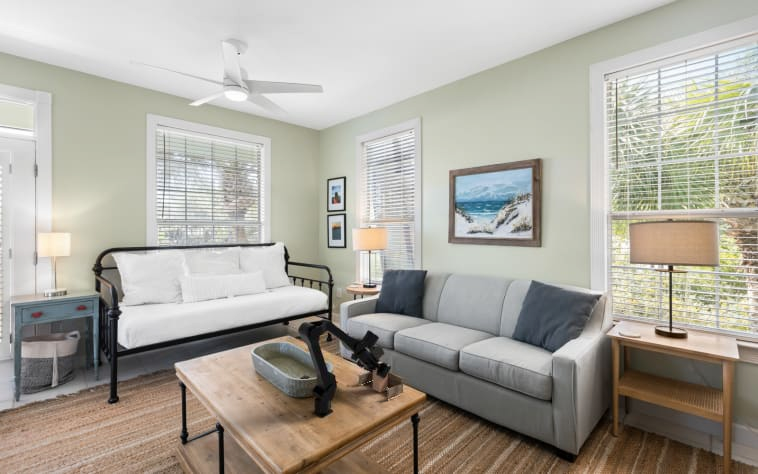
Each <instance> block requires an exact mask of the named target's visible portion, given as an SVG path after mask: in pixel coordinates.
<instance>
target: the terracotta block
mask: <svg viewBox="0 0 758 474" xmlns="http://www.w3.org/2000/svg"><path fill="white" fill-rule="evenodd" d="M377 363H379V364H380V363H383V362H382V361H379V362H377ZM376 374H377V368H376V370H373V382H372V390H373V389H374V391H375V390H376V391H375V392H377V391H378V392H377V393H379V392H380V393H382V392H381V391H383V392H385V391H384V390H386V389H387V385H388V374H387V377H386V378H382V377H379V376H377V375H376ZM386 391H387V390H386Z"/></svg>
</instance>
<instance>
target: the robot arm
mask: <svg viewBox="0 0 758 474" xmlns="http://www.w3.org/2000/svg"><path fill="white" fill-rule="evenodd" d="M297 332H298V334H299V336H300V338H301V340H302V341H303V342H304V344H305V345H306V346H307V349H308V352H309V355H310V357H311V361H312V363H313V366H314V370H315V373H316V378H315V383H316V384H315V386H314V387H313V388H312V390H311V395H312V396H313V397H315V398H314V410H312V411H311V413H312V414H314V415H315V416H318V417H320V418H325V417H326V416H328V415H330V414H332V413H333V412H334V409H332V401H333V400H334V397H335V395H336V394H335V393H336V391H337V389H338V381H337V379H336V375H335V374H334V373H332V372H331V371H329V370H328V366H327V364H326V360H325V357H324V354H323V351H322V348H321V345H320V339H321V336H322V335H324V334H325V333H329V334H330V335H331V336H332V337H334V338H335V339H337V340H338V341H339V342H340V343H341V345H342V346H343V347H344V349H346V350H348V351H349V352H352V353H351V355H350V359H351V360H353V361H355V362H356V361H357V362H356V365H357V367H359V368H360V369H363V370H364V371H366V372H373V370H376V368H377V374H376V375H377V376H379V377H382V378H386V377H387V374H388V372H391V369H392V366H391V365H390V364H389V363H387V362H383V363H380V364H379V363H378V362H381V361H380V358H381V357H383V356H385V350H384V348H383V347H382V346H380V345H376V344H377V343H378V340H380V337H379V336H378V335H377V334H375V333H374V332H372V330H369V329H368V330H367V331H366V333H365V335H364V336H363V337H362V339H360V338H356V337H354V336H351V335H349V334H348V333H346V332H345V331H344V330H342V329H341V328H340V327H338V326H337V325H336V324H334V323H333V321H331V320H329V319H326V318H324V319H320V320H315V321H310V322H308V321H306V322H305V321H304V322H302V323H301V324H300V325H299V327H298V329H297Z"/></svg>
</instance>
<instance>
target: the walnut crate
mask: <svg viewBox="0 0 758 474" xmlns="http://www.w3.org/2000/svg"><path fill="white" fill-rule="evenodd" d="M372 380H373V372H369V371H367V372H365V373H362V374H360V375H358V385H359V384H360V385H361V384H364V383H367V382H369V381H372ZM387 387H388V388H389V389H387V390H386V400H387V399H390V398H392V397H395V396H397V395H399V394H401V393H403V394H404V377H403V376H400V375H398V374H396V373H393V372H391V371H389V372H388V385H387Z"/></svg>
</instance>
